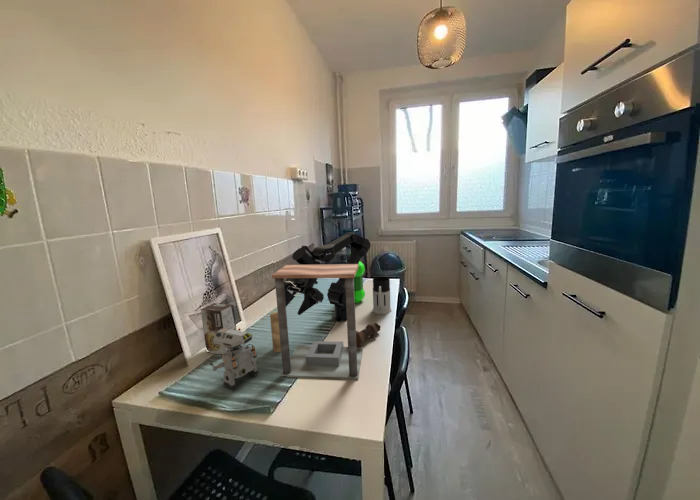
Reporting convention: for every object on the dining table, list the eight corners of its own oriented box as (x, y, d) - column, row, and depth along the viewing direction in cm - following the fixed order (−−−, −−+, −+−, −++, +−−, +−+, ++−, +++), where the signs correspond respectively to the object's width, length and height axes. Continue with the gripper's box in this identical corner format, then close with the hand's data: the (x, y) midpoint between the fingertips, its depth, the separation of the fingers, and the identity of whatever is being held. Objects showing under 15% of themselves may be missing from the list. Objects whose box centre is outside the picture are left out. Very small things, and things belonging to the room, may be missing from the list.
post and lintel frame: (298, 347, 104) (291, 261, 98) (362, 348, 101) (359, 260, 95) (280, 376, 87) (271, 274, 81) (358, 379, 84) (354, 274, 78)
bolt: (379, 336, 113) (357, 350, 101) (369, 328, 115) (346, 340, 103) (385, 325, 111) (363, 338, 99) (375, 316, 113) (353, 328, 101)
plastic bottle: (342, 299, 151) (339, 252, 146) (360, 296, 155) (358, 249, 151) (350, 305, 142) (348, 255, 138) (369, 302, 146) (368, 252, 142)
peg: (272, 348, 104) (268, 313, 102) (284, 345, 106) (281, 310, 103) (274, 353, 100) (271, 317, 98) (287, 350, 102) (284, 315, 100)
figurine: (238, 365, 94) (233, 321, 91) (262, 376, 87) (257, 328, 85) (211, 380, 86) (205, 332, 84) (235, 393, 80) (229, 342, 77)
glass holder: (391, 307, 138) (391, 276, 135) (390, 319, 124) (390, 285, 122) (373, 306, 140) (372, 276, 137) (370, 318, 126) (369, 285, 123)
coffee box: (239, 347, 106) (234, 304, 103) (226, 356, 100) (221, 311, 97) (219, 343, 109) (214, 302, 106) (205, 352, 103) (199, 308, 100)
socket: (314, 350, 101) (313, 340, 100) (343, 351, 100) (343, 341, 99) (306, 367, 91) (305, 356, 90) (339, 368, 90) (338, 357, 89)
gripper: (282, 260, 112) (259, 296, 106) (316, 266, 100) (293, 306, 94) (299, 276, 119) (279, 310, 113) (332, 283, 108) (312, 321, 101)
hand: (289, 311), depth 105 cm, fingers open, 9 cm apart
